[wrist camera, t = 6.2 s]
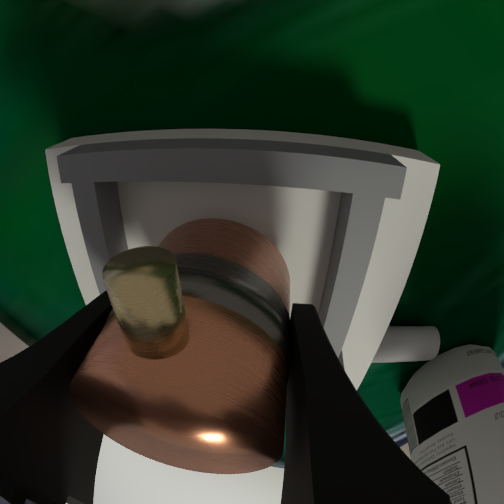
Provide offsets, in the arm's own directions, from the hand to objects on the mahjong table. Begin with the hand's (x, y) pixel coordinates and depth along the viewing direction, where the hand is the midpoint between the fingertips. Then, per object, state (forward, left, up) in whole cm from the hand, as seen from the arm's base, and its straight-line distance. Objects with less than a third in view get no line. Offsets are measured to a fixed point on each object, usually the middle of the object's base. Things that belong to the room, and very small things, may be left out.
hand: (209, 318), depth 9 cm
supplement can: (+16, -10, -5) cm, 20 cm away
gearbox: (+2, -2, -5) cm, 6 cm away
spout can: (0, 0, -2) cm, 2 cm away
